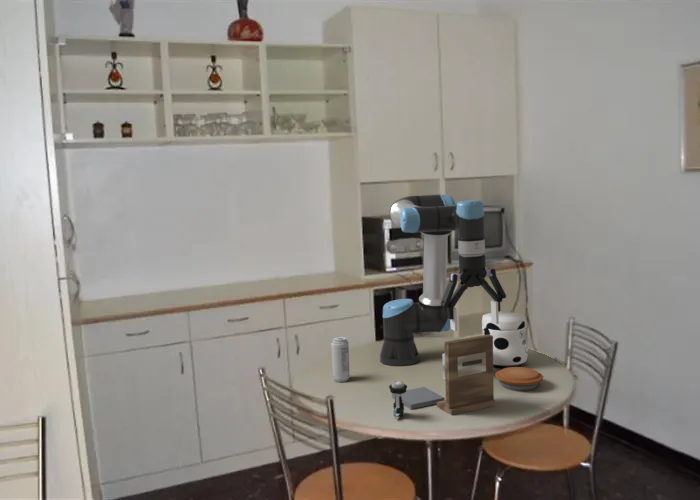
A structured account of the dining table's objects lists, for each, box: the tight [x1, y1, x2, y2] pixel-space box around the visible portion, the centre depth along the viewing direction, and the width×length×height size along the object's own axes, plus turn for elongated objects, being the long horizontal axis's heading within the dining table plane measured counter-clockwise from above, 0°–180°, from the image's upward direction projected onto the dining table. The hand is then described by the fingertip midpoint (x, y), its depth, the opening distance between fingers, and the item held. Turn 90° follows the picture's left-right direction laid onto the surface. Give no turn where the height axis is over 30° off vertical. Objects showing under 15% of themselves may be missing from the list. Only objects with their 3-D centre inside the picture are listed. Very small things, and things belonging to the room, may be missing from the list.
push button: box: [388, 380, 408, 420], centre depth 185 cm, size 7×5×10 cm
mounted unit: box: [436, 335, 497, 416], centre depth 192 cm, size 10×16×22 cm, turn 114°
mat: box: [391, 386, 445, 410], centre depth 199 cm, size 12×12×2 cm
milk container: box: [481, 311, 529, 368], centre depth 233 cm, size 17×17×18 cm
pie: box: [494, 366, 544, 392], centre depth 209 cm, size 15×16×5 cm
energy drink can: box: [330, 336, 351, 383], centre depth 221 cm, size 6×6×15 cm
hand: (474, 326), depth 183 cm, fingers open, 13 cm apart
